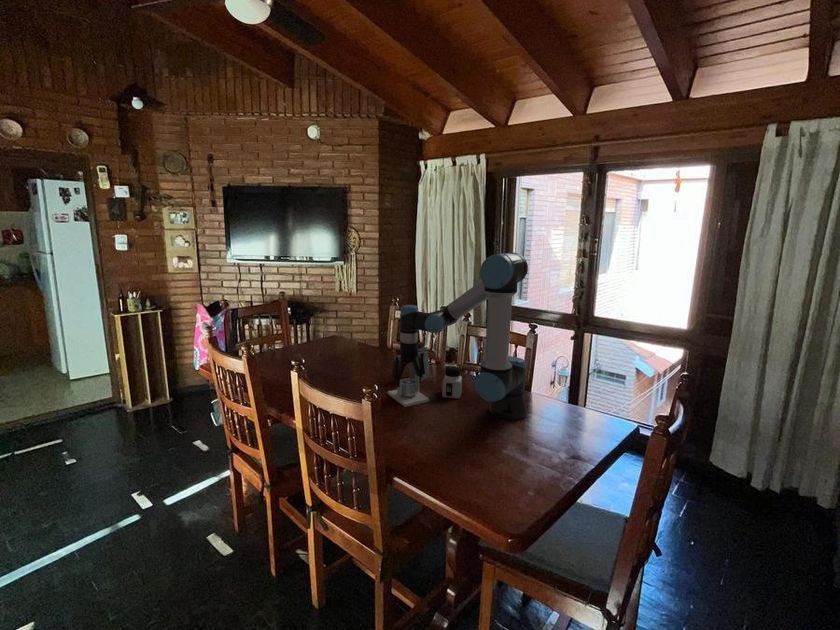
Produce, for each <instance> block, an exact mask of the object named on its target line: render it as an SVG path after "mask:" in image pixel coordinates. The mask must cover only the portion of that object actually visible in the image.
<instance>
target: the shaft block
mask: <svg viewBox="0 0 840 630" xmlns="http://www.w3.org/2000/svg"><path fill="white" fill-rule="evenodd" d="M406 383H407V384H410V383H411V381H406ZM387 395H388V396H390V397H391V398H392V399H394V400H395V401H396V402H398V403H399V404H400V405H401V406H402V407H404V408H405V407H406V408H407V407H412V406H415V405H421V404H425V403H429V402H430V398H429V397H427V396H426V395H424V393H421V392H420V391H417V394H416V395H413V396H404V395H400V394H398V393H397V389H393V390H388V391H387Z"/></svg>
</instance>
